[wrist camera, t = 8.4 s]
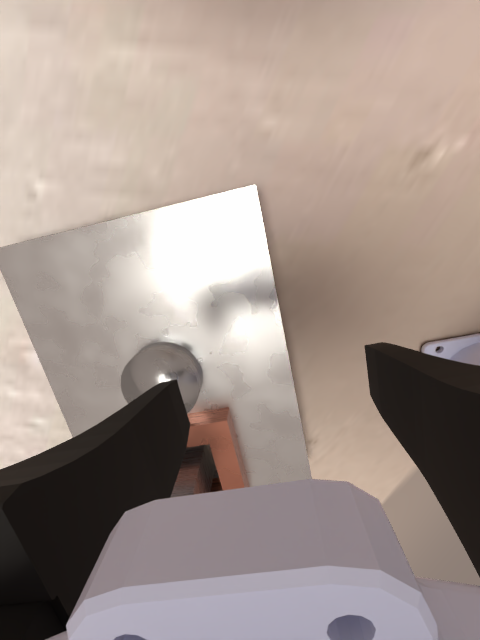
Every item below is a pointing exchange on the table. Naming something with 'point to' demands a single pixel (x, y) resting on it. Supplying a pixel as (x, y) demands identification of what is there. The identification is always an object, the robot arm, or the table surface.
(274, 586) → the robot arm
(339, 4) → the table surface
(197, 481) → the grey rectangular block
